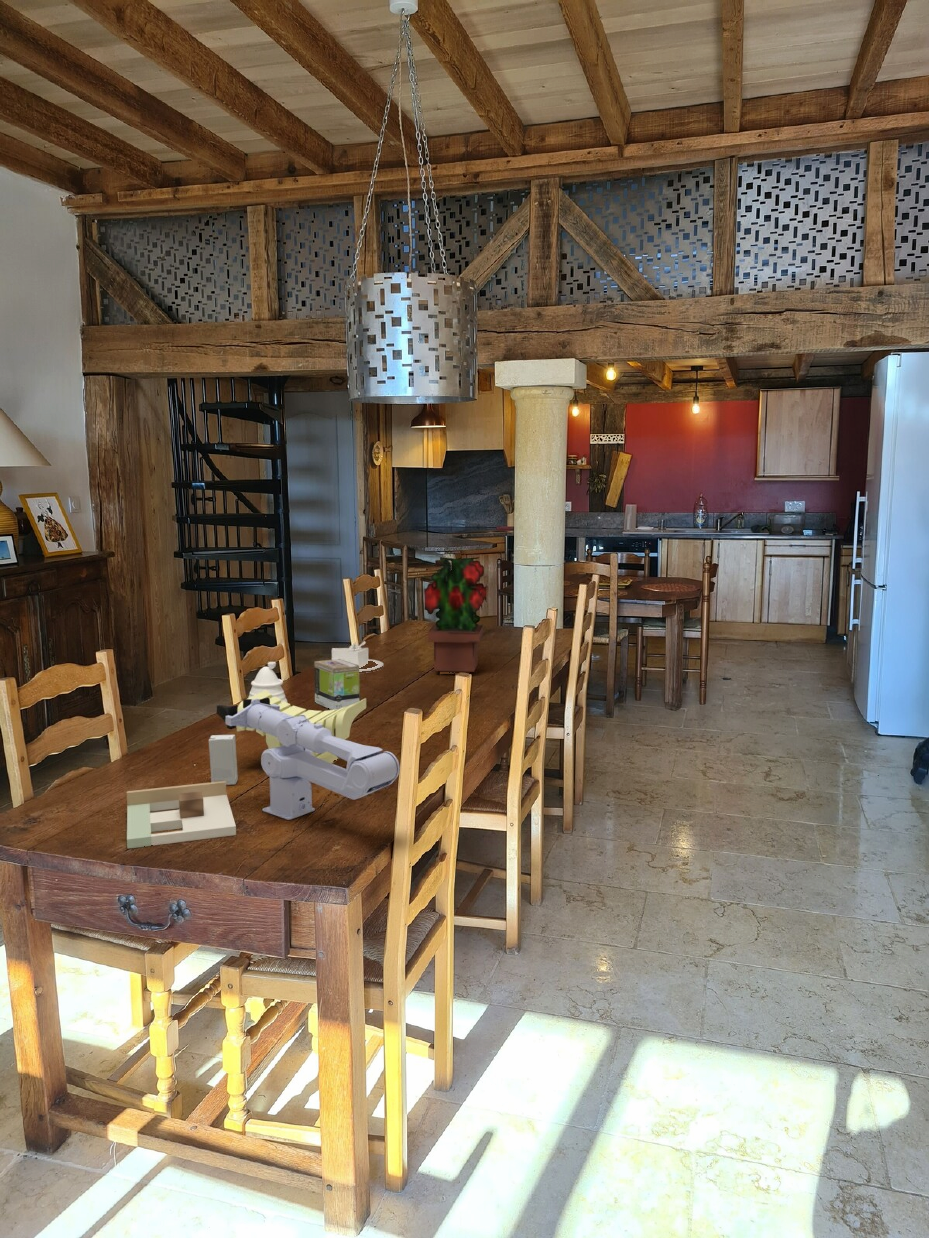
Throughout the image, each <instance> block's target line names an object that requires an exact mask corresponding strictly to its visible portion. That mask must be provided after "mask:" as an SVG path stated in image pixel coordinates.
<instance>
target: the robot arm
mask: <svg viewBox="0 0 929 1238" xmlns="http://www.w3.org/2000/svg"><path fill="white" fill-rule="evenodd" d="M242 701H243V708H244V709H243V710H241V711H240V712H238V706H239V704H234V705H228V706H227V705H223V704H219V705H216V714H217V715H218V716H219V717H220V718H221V719H222V721H223V722H224V724H225V726H226V728H227V729H228V730H234V729H237V726H241V727H247V728H255V729H257V730H260V731H262V732H265V733H267V734H270V735H272V736H275V737H277V738H278V740H279V741H280V743H281V744H283V745H282V746H279V747H276V748H272V749H269V748H267V749H265V750H263V752H262V754H261V757H260V765H261V767H262V770H263V771H264V773H265V774H266V776H268V777H269V799H270V803H269V804H270V805H269V806H267V807H264V808H262V812H264V813H267V814H269V815H270V814H271V815H273V816H277V817H279V818H282V819H284V820H288V821H291V820H293V819H296V818H298V817H302V816H303V815H306V814H309V813H312V812H314V811H315V809H316V808H315V807H313V802H312V801H313V799H312V784H315V785H317V786H320V787H323V788H324V789H327V790H328V791H331V792H334V793H336V794H338V795H340V796H343V797H345V798H349V799H350V800H354V801H355V800H358V799H361V798H363V797H366V796H368V795H371V794H373V793H374V792H376V791H379V790H381V789H384V788H385V787H388V786H390V785H392V784H393V783H394V781H396V779H397V778H398V777H399V775H400V770H401V768H400V767H401V766H400V761H399V760H398V758H397V757H396V755H395V754H394V753H393V752H391V751H387V750H386V751H383V748H381V747H377V746H371V745H364V744H361V743H357V742H354V741H351V740H347V739H345V740H344V739H340V738H337V737H336V736H335V737H333V736H332V733H331V731H330V730H329V729H326V728H324V727H322V726H323V725H322V724H320V723H318V724H313V723H310V721H309V720H308V719H307V718H306V717H305V715H299V716H297V717H294V716H291V715H288V714H286V713H283V712H280V706H279V705H276V704H272V705H271V704H270V699H269V698H263V699H257V698H256V699H247V698H244V699H242ZM312 751H313V752H316V753H318V754H322V753H325V752H326V751H327V752H329V753H331V754H333V755H335V756H337V758H338V759H342V760H344V761H345V762H347V763H346V768H344V767H342V766H339V765H337V764H334V763H329V762H327V761H324V760H322V759H319V758H317V757H314V756H313V752H312ZM311 783H312V784H311Z"/></svg>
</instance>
